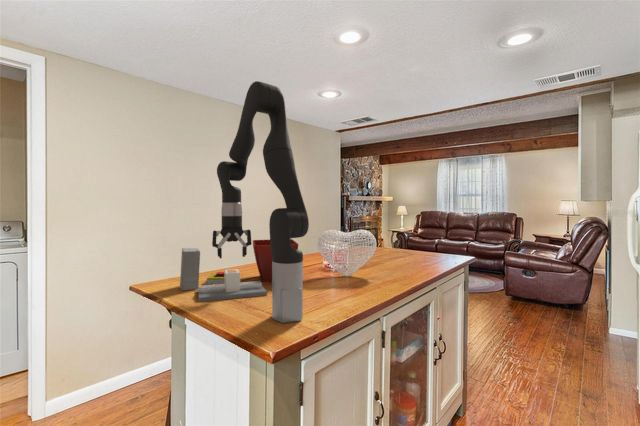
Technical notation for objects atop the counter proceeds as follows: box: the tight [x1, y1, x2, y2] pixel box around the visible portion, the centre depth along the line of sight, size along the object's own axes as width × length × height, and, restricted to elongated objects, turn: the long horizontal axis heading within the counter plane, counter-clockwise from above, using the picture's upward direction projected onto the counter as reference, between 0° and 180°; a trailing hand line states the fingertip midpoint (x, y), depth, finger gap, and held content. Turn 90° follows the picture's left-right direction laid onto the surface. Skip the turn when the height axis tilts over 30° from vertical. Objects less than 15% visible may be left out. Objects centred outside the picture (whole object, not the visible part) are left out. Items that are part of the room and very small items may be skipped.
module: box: [223, 268, 241, 292], centre depth 124 cm, size 7×5×7 cm
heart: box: [317, 229, 378, 277], centre depth 154 cm, size 28×16×22 cm, turn 98°
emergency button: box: [203, 271, 243, 285], centre depth 142 cm, size 9×4×15 cm
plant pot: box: [252, 238, 299, 283], centre depth 149 cm, size 19×19×17 cm
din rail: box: [200, 280, 263, 293], centre depth 124 cm, size 4×22×2 cm, turn 111°
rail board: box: [197, 285, 268, 303], centre depth 124 cm, size 14×24×2 cm, turn 111°
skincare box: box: [179, 247, 201, 291], centre depth 132 cm, size 8×7×16 cm
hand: (232, 257), depth 124 cm, fingers open, 8 cm apart
